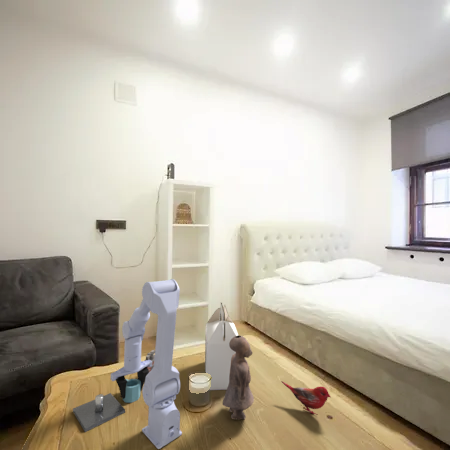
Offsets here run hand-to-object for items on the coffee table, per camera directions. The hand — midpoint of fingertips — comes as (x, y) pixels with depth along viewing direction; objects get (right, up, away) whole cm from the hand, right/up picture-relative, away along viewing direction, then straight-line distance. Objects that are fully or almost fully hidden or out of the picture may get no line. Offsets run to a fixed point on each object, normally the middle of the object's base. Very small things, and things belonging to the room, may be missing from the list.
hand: (131, 393), depth 92 cm
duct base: (-8, -1, -8) cm, 11 cm away
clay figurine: (+37, -2, -8) cm, 38 cm away
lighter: (+3, -2, +13) cm, 13 cm away
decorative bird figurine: (+60, -3, -5) cm, 60 cm away
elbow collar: (-1, -1, +1) cm, 2 cm away
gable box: (+32, -3, +16) cm, 36 cm away
